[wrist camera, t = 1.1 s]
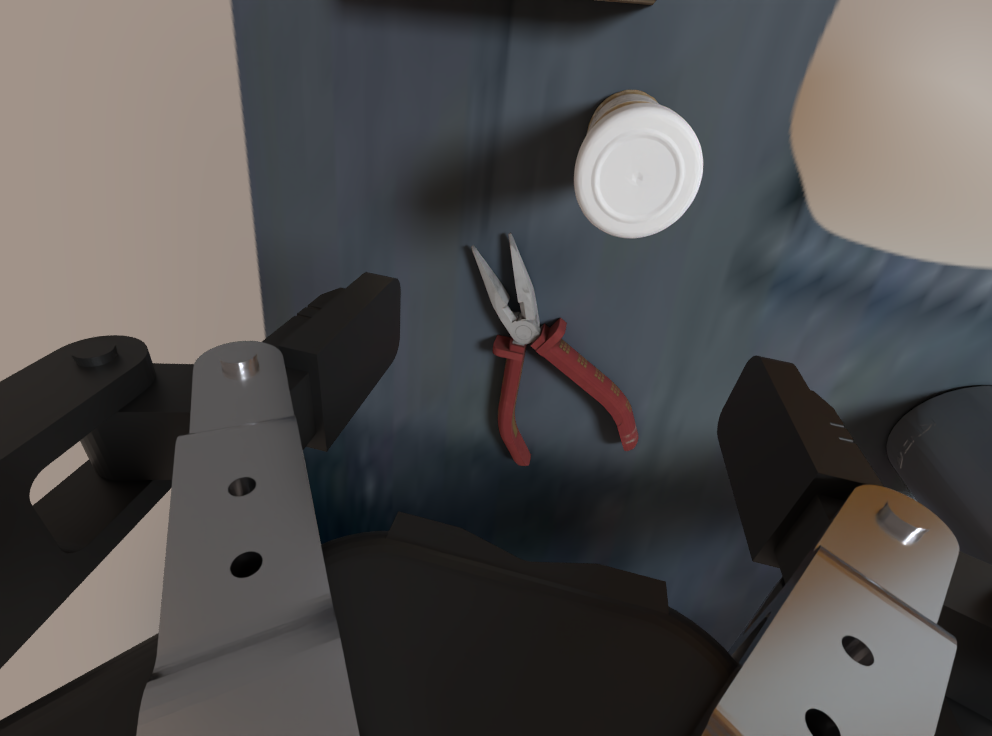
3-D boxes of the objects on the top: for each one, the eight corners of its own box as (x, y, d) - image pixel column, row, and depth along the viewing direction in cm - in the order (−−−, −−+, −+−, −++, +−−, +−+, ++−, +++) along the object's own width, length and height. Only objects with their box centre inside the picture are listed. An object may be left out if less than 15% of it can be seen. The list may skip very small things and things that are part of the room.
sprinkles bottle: (633, 187, 29) (648, 263, 18) (571, 148, 29) (549, 202, 18) (683, 114, 27) (735, 152, 16) (616, 70, 26) (622, 77, 15)
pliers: (572, 206, 31) (569, 217, 29) (642, 434, 40) (643, 455, 38) (425, 258, 35) (413, 270, 33) (518, 453, 44) (513, 473, 42)
